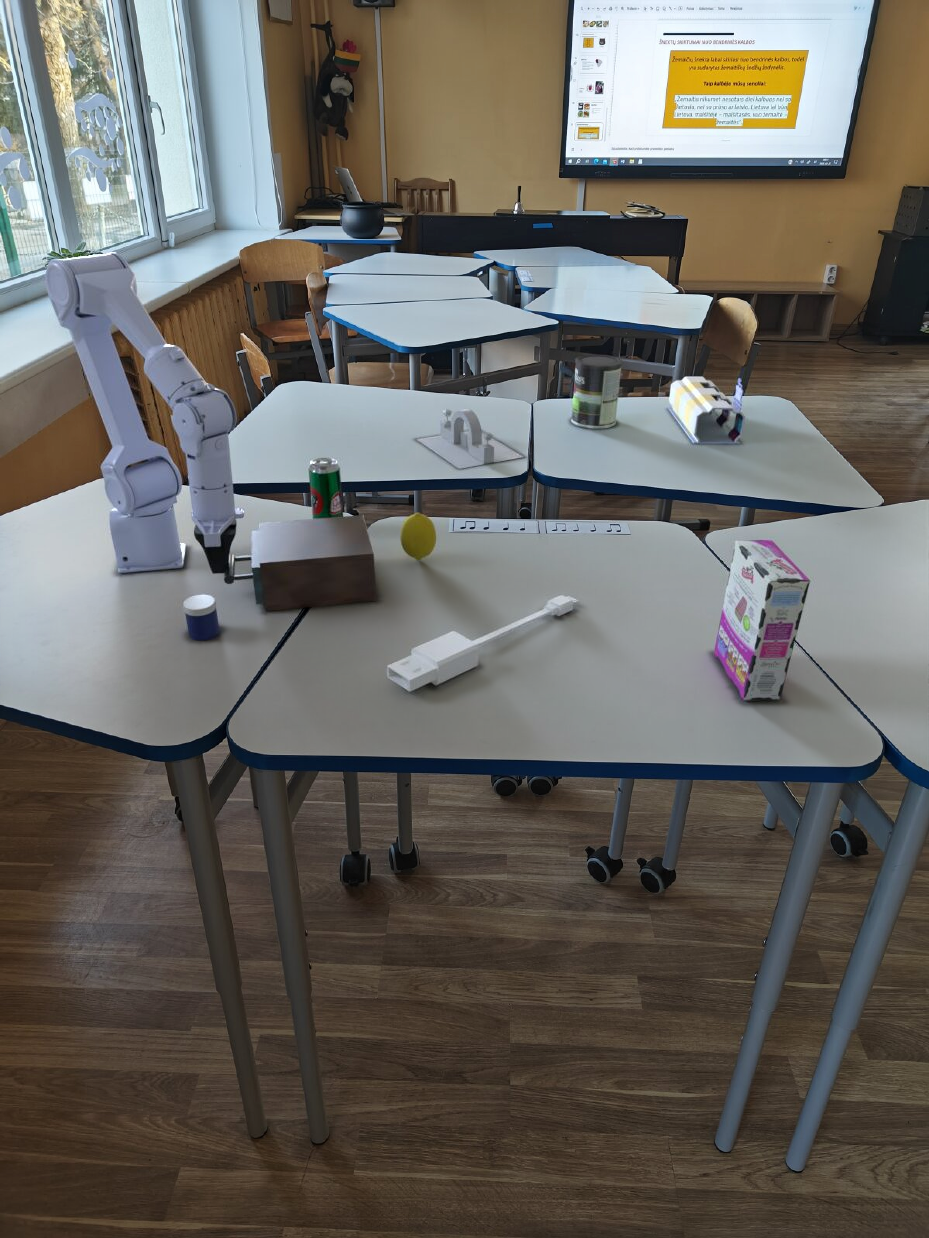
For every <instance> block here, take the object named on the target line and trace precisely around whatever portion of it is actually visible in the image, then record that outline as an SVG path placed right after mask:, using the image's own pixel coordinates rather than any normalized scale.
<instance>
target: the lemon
mask: <svg viewBox="0 0 929 1238" xmlns="http://www.w3.org/2000/svg"><path fill="white" fill-rule="evenodd" d="M434 524H435V523H434V522H433V521H432V519H430V518H429V516H427V515H425V514H422V513H421V512H415V513H414V514H411V515H409V516H408V517H407V518H405V520H404V521H403V523H402V525H401V529H400V544H401V547H402V549H403V551H404V553H406V554H407V555H408V556H409V557H411V558H412V559H413V558H414V559H415V560H416V561H422V559H424V558H427V557H428V556H430V554H431V553H433V551H434V549H435V547H436V542H437V531H436V527H435V525H434Z"/></svg>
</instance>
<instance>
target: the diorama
mask: <svg viewBox="0 0 929 1238" xmlns="http://www.w3.org/2000/svg"><path fill="white" fill-rule="evenodd" d="M742 382H743V381H742V378H741V377H739V378H738V379H737V384H736V385H735V394H734V395H733V396H734V397H733V401H731V400H730V398H728V397H727V396H726V395H725V393H723V392H721V390H720V388H719V387H718V386H717V385H715V383H713V381H712V380H710V379H708V380H706V378H705V377H704V376H689V375H688V376H684V377H683V378H682V379H676V380H675V381H673V382H671V384H670V390H669V396H668V397H669V398H668V402H669V404H670V405H671V407H668V411H669V412H670V413H671V415H672V416H673V418H675V420H676V421H677V423H678V424H679V425H680V427H681V428H682V429H683V431H684V432H685V434H686V435H687V437H688V438H689V439H690V441H691V442H692V444H709V445H710V444H713V445H714V444H719V445H720V444H721V445H722V444H724V445H725V444H727V445H728V444H731V445H732V444H733V445H734V444H738V445H739V444H741V442H740V441H739V439H740V438H741V437H742V436H743V433H744V426H745V420H746V415H745V414H744V413H743V412H742V411H741V410H742V406H743V404H742V403H743V401H742V398H743V395H744V390H743V384H741V383H742ZM716 410H721V414H720V415H719V416H718V415H717V414H716V413H715V411H716ZM731 412H732V413H733V414H734V415H735V416H734V417H735V418H734V424H733V427H732V428H731V429H729V428H728V426H726V425H727V424H728V423H729V422H730V417H731Z"/></svg>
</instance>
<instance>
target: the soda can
mask: <svg viewBox="0 0 929 1238" xmlns="http://www.w3.org/2000/svg"><path fill="white" fill-rule="evenodd" d="M308 478H309V490H310V502H311V516H312V519H319V518H332V517H344V505H343V493H342V479H341V467H340V465H339V464H338V460H336V459H335V458H331V457H318V458H315V459H312V460H311V461H310V465H309V467H308Z"/></svg>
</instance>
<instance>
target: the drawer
mask: <svg viewBox="0 0 929 1238" xmlns="http://www.w3.org/2000/svg"><path fill="white" fill-rule="evenodd" d="M249 561H250V562H251V573H243V574H235V573H236V563H237V562H249ZM223 574H224V575H223V581H224V583H225V584H227V585H232V584H234V582H235V581H244V580H245V581H246V580H252V582H253V588H254V589H253V591H254V597H255V598H254V599H255V604H256V605H265V602H264V594H263V586H262V578H261V570H260V554H259V529H257V530H251V554H249V555H237V556H235V555H234V554H232V553H230V554H229V566H228V567H227V568H226V569H225V572H224V573H223Z"/></svg>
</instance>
